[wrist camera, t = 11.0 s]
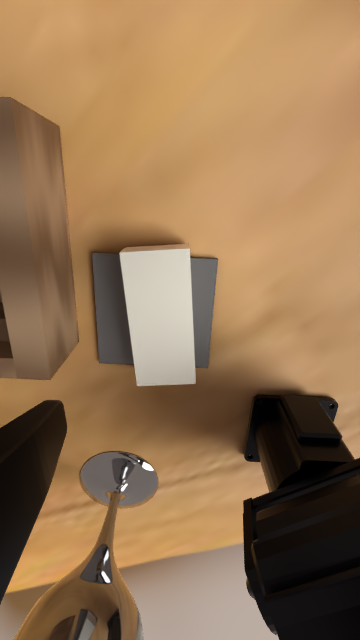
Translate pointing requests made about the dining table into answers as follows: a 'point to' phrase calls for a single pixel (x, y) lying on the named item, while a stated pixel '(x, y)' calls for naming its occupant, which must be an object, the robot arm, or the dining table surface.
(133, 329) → the block
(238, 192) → the dining table surface
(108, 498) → the wine glass
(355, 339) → the dining table surface
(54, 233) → the rectangular frame
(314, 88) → the dining table surface
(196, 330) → the mat
